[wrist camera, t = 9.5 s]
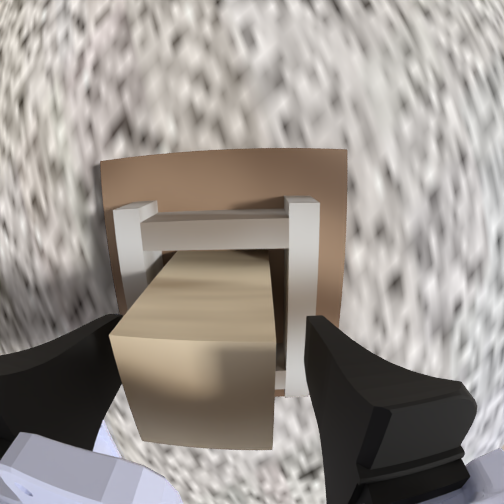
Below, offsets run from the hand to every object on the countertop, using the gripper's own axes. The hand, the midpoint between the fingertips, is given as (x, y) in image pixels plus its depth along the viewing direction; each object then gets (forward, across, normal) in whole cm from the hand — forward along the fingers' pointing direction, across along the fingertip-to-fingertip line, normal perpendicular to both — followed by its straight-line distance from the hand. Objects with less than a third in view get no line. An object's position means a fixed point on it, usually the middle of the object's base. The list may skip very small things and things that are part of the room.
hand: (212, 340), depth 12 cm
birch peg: (+4, 0, 0) cm, 4 cm away
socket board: (+5, 0, 0) cm, 5 cm away
